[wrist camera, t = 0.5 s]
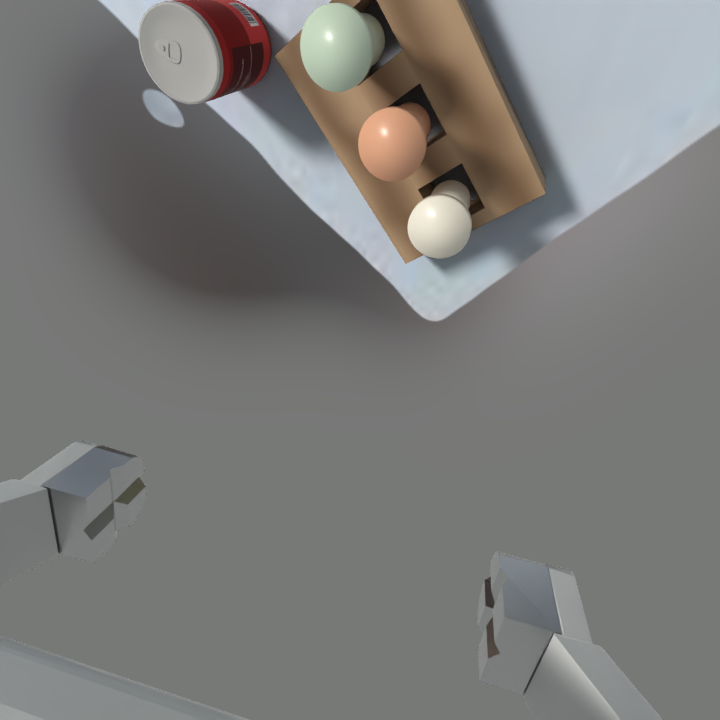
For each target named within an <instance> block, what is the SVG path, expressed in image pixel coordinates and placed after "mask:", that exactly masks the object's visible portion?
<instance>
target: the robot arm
mask: <svg viewBox="0 0 720 720" xmlns="http://www.w3.org/2000/svg"><path fill="white" fill-rule="evenodd" d="M144 471H145V470H144V461H143V459H142V458H140V457H139V456H136V455H133V454H129V453H126V452H123V451H119V450H116V449H112V448H109V447H106V446H100V445H97V444H93V443H90V442H87V441H84V440H82V441H76V442H74V443H73V444H71V445H70V446H68V447H67V448H66V449H64V450H63V451H61V452H60V453H58V454H57V455H56V456H54V457H53V458H51V459H50V460H48V461H47V462H46V463H44V464H43V465H41V466H40V467H38V468H37V469H36V470H34V471H33V472H31V473H30V474H29V475H27V476H26V477H24V478H23V479H21V480H20V481H19V480H16V479H12V480H8V481H5V482H1V483H0V586H1V585H3V584H5V583H7V582H9V581H11V580H13V579H15V578H17V577H19V576H21V575H23V574H25V573H27V572H29V571H30V570H33V569H34V568H36V567H38V566H40V565H42V564H44V563H46V562H48V561H50V560H52V559H54V558H56V557H58V556H59V554H62V555H66V556H70V557H73V558H76V559H80V560H84V561H88V562H92V563H95V562H96V561H97V560H98V559H99V558H100V557H101V556H102V555H103V554H104V553H105V552H106V551H107V550H108V549H109V548H110V547H111V545H112V544H113V543H114V542H115V541H116V532H117V531H119V530H121V529H124V528H126V527H129V526H130V525H131V524H132V523H133V522H134V521H135V519H136V518H137V517H138V516H139V513H140V512H141V510H142V508H143V506H144V502H145V497H146V486H145V485H144V483H143V482H142V480H141V479H140V478H139V477H140V475H141V474H142V473H143V472H144ZM490 574H491V577H489V578H487V579H485V580H484V583H483V586H482V589H481V593H480V599H479V604H478V628H479V630H480V631H481V633H482V635H483V636H482V639H481V642H480V644H479V647H478V657H479V681H481V682H484V683H487V684H490V685H493V686H496V687H499V688H502V689H505V690H508V691H511V692H514V693H517V694H520V695H523V696H524V697H523V699H524V701H525V702H526V704H527V706H528V708H529V710H530V712H531V714H532V716H533V718H534V720H662V719H661V717H660V716H659V715H658V714H657V712H656V711H655V710H654V709H653V708H652V707H651V705H650V704H649V703H648V702H647V701H646V699H645V698H644V697H643V696H642V695H641V694H640V692H639V691H638V690H637V689H636V688H635V686H633V684H632V683H631V682H630V681H629V679H628V678H627V677H626V676H625V675H624V673H623V672H622V671H621V670H620V669H619V668H618V666H617V665H616V664H615V663H614V661H613V660H612V659H611V658H610V657H609V656H608V654H607V653H606V652H605V651H604V650H603V648H602V647H601V646H597V645H594V644H593V643H592V639H591V636H590V632H589V628H588V625H587V621H586V617H585V614H584V610H583V606H582V602H581V598H580V595H579V591H578V587H577V584H576V580H575V576H574V574H573V573H572V571H571V570H568V569H564V568H560V567H556V566H552V565H548V564H543V563H539V562H535V561H531V560H527V559H524V558H519V557H516V556H512V555H508V554H504V553H500V552H496V553H495V554H494V556H493V558H492V561H491V563H490ZM0 720H248V719H245V718H242V717H239V716H237V715H234V714H230V713H228V712H224V711H222V710H218V709H216V708H213V707H210V706H207V705H204V704H201V703H198V702H195V701H192V700H189V699H186V698H183V697H180V696H177V695H174V694H171V693H168V692H165V691H163V690H160V689H157V688H154V687H151V686H148V685H145V684H141V683H139V682H136V681H133V680H130V679H127V678H124V677H121V676H118V675H115V674H112V673H109V672H106V671H103V670H101V669H98V668H95V667H92V666H89V665H86V664H82V663H80V662H77V661H74V660H71V659H68V658H65V657H62V656H59V655H56V654H53V653H50V652H47V651H44V650H42V649H39V648H36V647H32V646H29V645H27V644H24V643H21V642H18V641H15V640H12V639H9V638H6V637H3V636H0Z"/></svg>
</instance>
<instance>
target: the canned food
mask: <svg viewBox="0 0 720 720" xmlns="http://www.w3.org/2000/svg"><path fill="white" fill-rule="evenodd" d="M139 47H140V53H141V56H142V59H143V62H144V65H145V67H146V69H147V71H148V73H149V74H150V76H151V78H152V79H153V81H154V82H155V83H156V85H157V86H158V87H159V88H160V89H161V90H162V91H163V92H164V93H165V94H167V95H168V96H169V97H171V98H172V99H174V100H177V101H179V102H182V103H185V104H199V103H204V102H207V101H211V100H213V99H216V98H219V97H222V96H225V95H228V94H230V93H233V92H236V91H239V90H242V89H245V88H247V87H250V86H252V85H254V84H256V83H258V82H259V81H260V80H261V79H262V78H263V76H264V75H265V73H266V71H267V69H268V67H269V64H270V59H271V44H270V39H269V35H268V32H267V30H266V28H265V26H264V24H263V22H262V21H261V19H260V18H259V17H258V15H257V14H256V13H255V12H254V11H253V10H251V9H250V8H249V7H247V6H246V5H245V4H243V3H241V2H239V1H236V0H173V1H164V2H161V3H158V4H155V5H153V6H152V7H151V8H149V9H148V10H147V12H146V13H145V14H144V16H143V18H142V21H141V23H140V28H139Z"/></svg>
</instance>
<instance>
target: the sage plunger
mask: <svg viewBox="0 0 720 720" xmlns="http://www.w3.org/2000/svg"><path fill="white" fill-rule="evenodd" d="M384 47H385V35H384V31H383V28H382V26H381V24H380V23H379V21H378V20H377V19H376V18H375V17H374V16H372V15H370V14H367V13H360V12H359V11H357V10H356V9H355V8H353V7H351V6H350V5H347V4H344V3H329V4H325V5H322V6H320V7H318V8H317V9H316V10H314V11H313V12H312V13H311V14H310V16H309V17H308V19H307V20H306V22H305V24H304V27H303V29H302V33H301V39H300V51H301V57H302V61H303V64H304V67H305V69H306V71H307V73H308V74H309V76H310V77H311V79H312V80H313V81H314V82H315V83H316V84H317V85H319V86H320V87H321V88H323V89H325V90H328V91H331V92H344V91H347V90H349V89H351V88H353V87H355V86H357V85H358V84H359V83H360V82H361V81H363V79H364V78H365V77H366V75H367V74H368V72H369V70H370V68H371V66H373V65H374V64H375V63H377V62H378V60H379V59H380V57H381V56H382V54H383V51H384Z"/></svg>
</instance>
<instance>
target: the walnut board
mask: <svg viewBox="0 0 720 720" xmlns="http://www.w3.org/2000/svg"><path fill="white" fill-rule="evenodd" d="M374 1H375V0H332V1H331V2H330V3H344V4H347V5H350V6H351V7H353V8H355V9H356V10H357V11H359V12H360V13H362V12H363V11H364V10H365V9H366V8H367V7H368V6H369V5H370V4H372V3H373V2H374ZM377 2H378V4H379V6H380V8H381V10H382V12H383V13H384V15H385V17H386V19H387V21H388V23H389V25H390V27H391V29H392V31H393V33H394V35H395V36H396V38H397V40H398V42H399V44H400V46H401V48H402V51H401V52H400V53H398V54H397V55H396V56H395V57H393V58H392V59H391V60H390V61H388V62H387V63H386V64H385V65H383V66H382V67H381V68H380V69H378V70H377V71H376V72H375V73H373V74H372V75H370V73H369V72H368V74H367V75H366V77H365V78H364V79H363V81H361V82H360V83H359V84H358V85H357V86H355V87H353V88H351V89H349V90H347V91H344V92H331V91H328V90H325V89H323V88H321V87H320V86H319V85H317V84H316V83H315V82H314V81H313V80H312V79H311V77H310V76H309V74H308V73H307V71H306V69H305V67H304V64H303V61H302V57H301V51H300V39H301V33H302V30H301V31H300V32H299V33H298V34H297V35H296V36H295V37H294V38H293V39H292V40H291V41H290V42H288V43H287V44H286V45H285V46H284V47H283V48H282V49H281V50H280V51H279V52H278V53H277V54H276V55H275V57H276V59H277V61H278V62H279V64H280V65H281V67H282V68H283V70H284V72H285V73H286V75H287V76H288V78H289V80H290V81H291V83H292V84H293V86H294V87H295V89H296V91H297V92H298V94H299V95H300V97H301V99H302V100H303V102H304V103H305V105H306V106H307V108H308V110H309V111H310V113H311V114H312V116H313V118H314V119H315V121H316V122H317V124H318V126H319V127H320V129H321V130H322V132H323V133H324V135H325V137H326V138H327V140H328V141H329V143H330V145H331V146H332V148H333V149H334V151H335V152H336V154H337V156H338V157H339V159H340V160H341V162H342V164H343V165H344V167H345V168H346V170H347V171H348V173H349V175H350V176H351V178H352V179H353V181H354V183H355V184H356V186H357V187H358V189H359V190H360V192H361V194H362V195H363V197H364V198H365V200H366V202H367V203H368V205H369V206H370V208H371V209H372V211H373V213H374V214H375V216H376V217H377V219H378V221H379V222H380V224H381V225H382V227H383V228H384V230H385V232H386V233H387V235H388V236H389V238H390V240H391V241H392V243H393V244H394V246H395V247H396V249H397V251H398V252H399V254H400V255H401V257H402V259H403V260H404V262H405V263H408V262H410V261H412V260H414V259H416V258H418V257H420V256H422V255H424V254H422V253H421V252H419V251H418V250H417V249H416V248H415V247H414V246H413V244H412V243H411V241H410V238H409V235H408V229H407V228H408V220H409V217H410V215H411V213H412V211H413V209H414V208H415V206H416V205H417V204H418V203H419V202H420V201H421V200H422V199H424V198H426V197H428V196H430V195H431V194H432V192H433V190H434V187H433V185H432V183H431V181H433V180H435V179H436V178H438V177H440V176H441V175H443V174H445V173H446V172H448V171H450V170H451V169H453V168H455V167H456V166H458V165H460V164H461V163H462V165H463V167H464V169H465V170H466V172H467V174H468V176H469V178H470V180H471V182H472V184H473V186H474V188H475V190H476V192H477V193H478V195H479V197H478V198H477V199H475V200H473V201H471V202H470V207H469V212H470V215H471V219H472V229H471V231H472V230H474V229H476V228H478V227H480V226H482V225H484V224H486V223H488V222H490V221H492V220H494V219H496V218H498V217H500V216H502V215H504V214H506V213H508V212H510V211H512V210H514V209H516V208H518V207H520V206H522V205H524V204H526V203H528V202H530V201H532V200H534V199H536V198H538V197H540V196H542V195H544V194H546V188H545V176H544V174H543V172H542V170H541V168H540V165H539V163H538V161H537V159H536V156H535V154H534V152H533V150H532V148H531V145H530V143H529V141H528V139H527V137H526V134H525V132H524V130H523V128H522V125H521V123H520V121H519V119H518V117H517V114H516V112H515V110H514V108H513V106H512V103H511V101H510V99H509V97H508V95H507V92H506V90H505V88H504V86H503V83H502V81H501V79H500V77H499V75H498V72H497V70H496V68H495V66H494V64H493V61H492V59H491V57H490V55H489V53H488V50H487V48H486V46H485V44H484V41H483V39H482V37H481V35H480V33H479V30H478V28H477V26H476V24H475V22H474V19H473V17H472V15H471V13H470V11H469V8H468V6H467V4H466V2H465V0H377ZM419 83H420V84H421V86H422V88H423V90H424V92H425V94H426V96H427V98H428V100H429V102H430V103H431V105H432V107H433V109H434V111H435V113H436V115H437V117H438V119H439V121H440V123H441V125H442V126H443V128H444V130H443V131H441V132H439V133H438V134H436V135H435V136H433V137H432V138H430V139H429V140H427V148H426V153H425V156H424V159H423V161H422V162H421V164H420V166H419V167H418V169H417V170H416V171H415V172H414V173H413V174H412V175H411V176H409V177H408V178H406V179H404V180H401V181H396V182H389V181H384V180H381V179H379V178H377V177H375V176H374V175H372V174H371V173H370V172H369V171H368V170H367V169H366V167H365V166H364V164H363V162H362V160H361V158H360V154H359V149H358V139H359V134H360V131H361V128H362V126H363V124H364V123H365V121H366V120H367V119H368V118H369V117H370V116H371V115H372V114H374V113H375V112H377V111H378V110H380V109H382V108H385V107H388V106H390V105H391V104H392V103H394V102H395V101H397V100H398V99H399V98H401V97H402V96H403V95H405V94H406V93H407V92H409V91H410V90H411V89H413V88H414V87H415V86H417V85H418V84H419Z"/></svg>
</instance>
